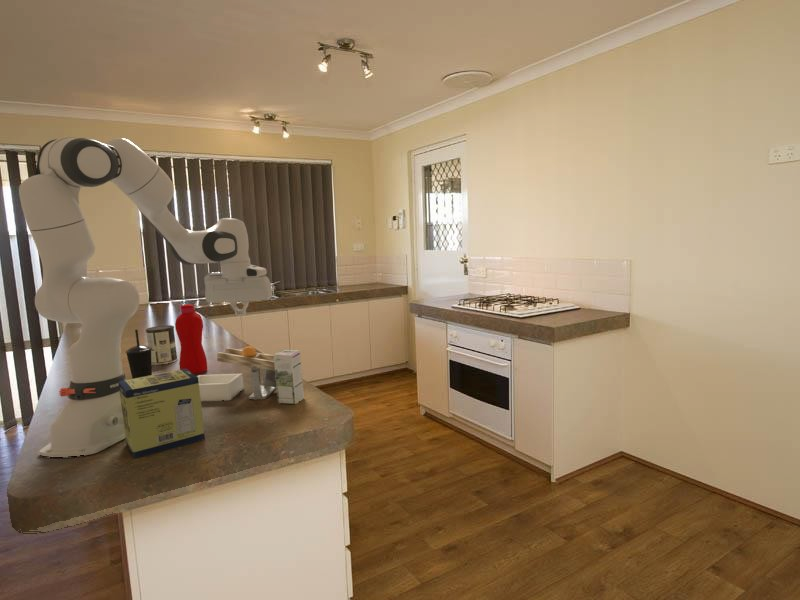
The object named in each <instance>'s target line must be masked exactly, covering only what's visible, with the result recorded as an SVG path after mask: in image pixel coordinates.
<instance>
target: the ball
mask: <svg viewBox="0 0 800 600" xmlns="http://www.w3.org/2000/svg"><path fill="white" fill-rule="evenodd" d="M243 348H244V349H243V351H242V356H246V357H254V356H255V355H256V352H257V350H256V349H255V348H254V347H253V346H250V345H247V346H246V347H243ZM255 350H256V351H255Z"/></svg>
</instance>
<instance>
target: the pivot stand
mask: <svg viewBox="0 0 800 600" xmlns="http://www.w3.org/2000/svg"><path fill="white" fill-rule="evenodd" d="M260 369H261V370H262V380H263V381H261V371H260ZM250 371H251V379H252V390H253V392H252V393H251V394H250V395H249V396H248V400H249V399H254V400H266V399H268V397H269V396H270V395H271V394H272V393H273V392H274V391H275V390H277V388H276V387H271V386H265V379H266V371H267V369H262V368H257V367H255V366H254V367H251V370H250ZM262 382H263V385H262Z"/></svg>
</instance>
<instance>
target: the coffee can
mask: <svg viewBox="0 0 800 600" xmlns="http://www.w3.org/2000/svg"><path fill="white" fill-rule="evenodd" d="M145 333H146V341H147V346H149V347H152V350H151V363H152V366H162V364H163V365H168V363H169V364H171V363H175V362H178V360H179V359H178V352H177V346H176V337H175V335H176V334H175V325H170V324H168V325H157V326H152V327H148V328H145Z"/></svg>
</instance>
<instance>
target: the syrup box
mask: <svg viewBox="0 0 800 600" xmlns="http://www.w3.org/2000/svg"><path fill="white" fill-rule="evenodd" d="M273 355H274V366H275V377H276V397H277V403H278V404H280V405H281V404H282V405H297V404H298V403H300V402H301V401H303V400H304V399H305V393H304V385H303V372H302V371H303V370H302V369H303V368H302V358H301V357H302V356H301V351H300V350H297V349H295V350H294V349H291V350H288V349H287V350H284V349H283V350H279V351H278V352H275V354H273ZM299 401H300V402H299Z"/></svg>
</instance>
